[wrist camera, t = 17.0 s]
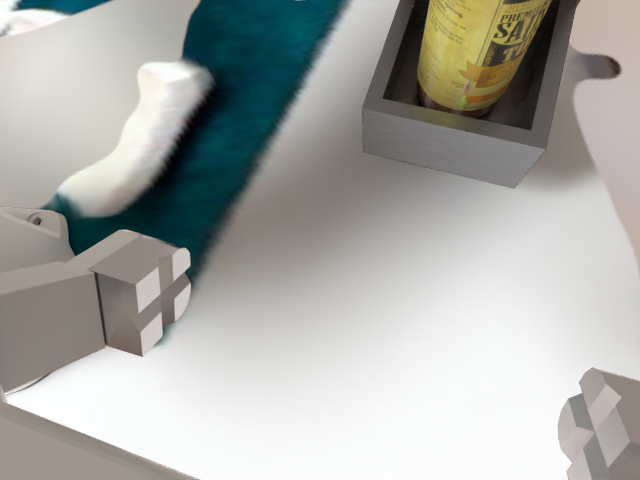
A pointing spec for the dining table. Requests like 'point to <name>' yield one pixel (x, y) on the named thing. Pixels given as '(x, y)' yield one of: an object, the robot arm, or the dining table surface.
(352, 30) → the dining table surface
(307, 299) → the dining table surface
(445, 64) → the sauce bottle
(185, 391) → the dining table surface
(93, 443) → the robot arm
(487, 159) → the open rectangular box
